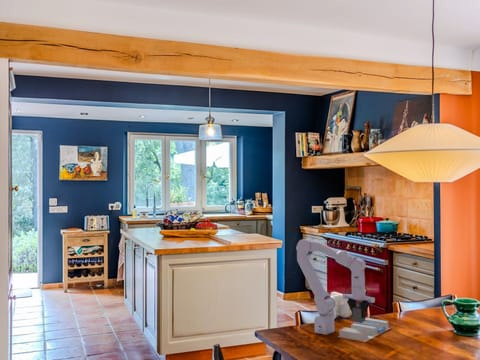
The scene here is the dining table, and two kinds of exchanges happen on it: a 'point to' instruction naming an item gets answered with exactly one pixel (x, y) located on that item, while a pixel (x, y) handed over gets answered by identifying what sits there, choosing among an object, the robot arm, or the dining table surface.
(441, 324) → the dining table surface
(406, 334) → the dining table surface
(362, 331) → the grey stepped board
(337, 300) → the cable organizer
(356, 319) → the cord plug
